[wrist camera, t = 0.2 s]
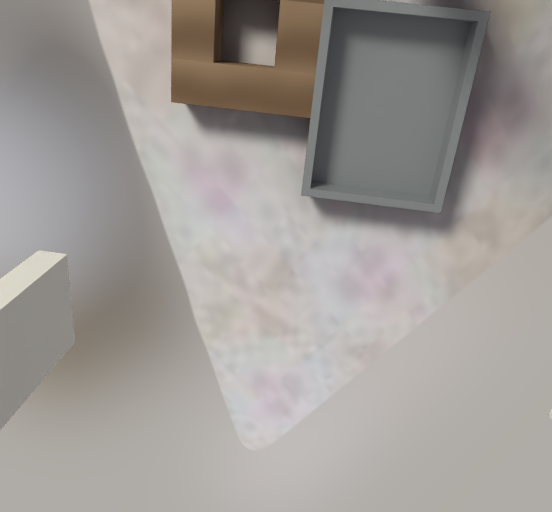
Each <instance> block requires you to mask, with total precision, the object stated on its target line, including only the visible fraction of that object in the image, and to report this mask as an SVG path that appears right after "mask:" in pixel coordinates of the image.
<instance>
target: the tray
mask: <svg viewBox="0 0 552 512" xmlns="http://www.w3.org/2000/svg"><path fill="white" fill-rule="evenodd" d="M489 16H490V11H480V10H470V9H460V8H450V7H440V6H429V5H419V4H409V3H399V2H389V1H379V0H324V9H323V17H322V25H321V34H320V42H319V50H318V59H317V67H316V76H315V84H314V92H313V101H312V109H311V117H310V126H309V134H308V143H307V151H306V159H305V168H304V176H303V184H302V193H301V196H309V197H317V198H325V199H333V200H341V201H349V202H357V203H364V204H372V205H380V206H388V207H396V208H404V209H412V210H420V211H428V212H436V213H441V210H442V206H443V202H444V198H445V194H446V190H447V186H448V182H449V178H450V173H451V169H452V165H453V161H454V157H455V153H456V149H457V145H458V141H459V137H460V133H461V129H462V125H463V121H464V117H465V113H466V109H467V105H468V101H469V97H470V93H471V89H472V85H473V81H474V77H475V72H476V68H477V64H478V60H479V56H480V52H481V48H482V44H483V40H484V36H485V32H486V28H487V24H488V20H489Z"/></svg>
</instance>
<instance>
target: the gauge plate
mask: <svg viewBox="0 0 552 512" xmlns="http://www.w3.org/2000/svg"><path fill="white" fill-rule="evenodd" d="M274 1H280V10H279V22H278V33H277V45H276V56H275V66H266V65H257V64H248V63H239V62H229V61H221V53H222V30H223V7H224V0H172V72H171V102H175V103H184V104H192V105H201V106H209V107H218V108H227V109H235V110H244V111H253V112H261V113H270V114H279V115H287V116H296V117H305V118H310V117H311V109H312V101H313V92H314V84H315V76H316V67H317V59H318V50H319V42H320V34H321V25H322V17H323V9H324V0H274Z"/></svg>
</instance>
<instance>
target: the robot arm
mask: <svg viewBox="0 0 552 512" xmlns="http://www.w3.org/2000/svg"><path fill="white" fill-rule="evenodd" d="M74 343H75V337H74V326H73V315H72V304H71V293H70V282H69V271H68V260H67V254H61V253H53V252H46V251H37V252H36V253H35V254H33V255H32V256H31V257H29V258H28V259H27V260H25V261H24V262H23V263H21V264H20V265H18V266H17V267H16V268H14V269H13V270H12V271H10V272H9V273H8V274H6V275H5V276H4V277H3V278H1V279H0V430H1V429H2V428H3V427H4V425H5V424H6V423H7V422H8V421H9V419H10V418H11V417H12V416H13V415H14V414H15V412H16V411H17V410H18V409H19V408H20V406H21V405H22V404H23V403H24V402H25V400H26V399H27V398H28V397H29V396H30V394H31V393H32V392H33V391H34V390H35V389H36V388H37V386H38V385H39V384H40V383H41V381H42V380H43V379H44V378H45V377H46V376H47V374H48V373H49V372H50V371H51V370H52V369H53V367H54V366H55V365H56V364H57V363H58V362H59V360H60V359H61V358H62V357H63V355H64V354H65V353H66V352H67V351H68V350H69V348H70V347H71V346H72V345H73V344H74ZM549 415H550V417H551V419H552V409H551V411H550V414H549Z"/></svg>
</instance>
